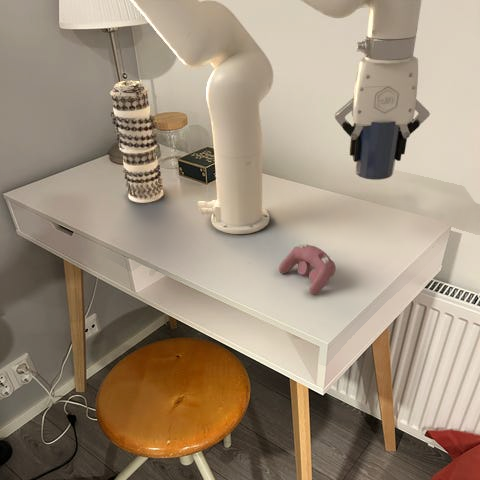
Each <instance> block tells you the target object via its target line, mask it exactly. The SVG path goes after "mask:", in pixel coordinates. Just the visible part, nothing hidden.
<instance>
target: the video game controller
mask: <svg viewBox="0 0 480 480" xmlns="http://www.w3.org/2000/svg"><path fill="white" fill-rule="evenodd" d="M296 266H297V268H296V270H297V273H298V274H299V275H303V276H307V275H308V279H309V281H310V282H311V284H310V286H309V293H310V295H313V296H314V295H317V294H318V293H320V292H321V291H322V290H323V289H324V288H325V287H326V285H327V284H328V282H329V281H330V280H331V278H333V276H334V275H335V274H336V271H337V267H336V264H335V261H334V260H333V259H331V258H330V255H328V254H327V253H326V252H325V251H324V250H322V249H321V248H319V247H317V246H315V245H310V244H307V243H302V244H300V243H299V244H298V245H296V246H294V247H293V248H292V250H291V251H290V252H289V253H288V255H287V256H285V258H284V259H283V260H282V261H281V263H280V264H279V267H278V271H279V273H280V274H281V275H282V274H287V273H288V272H289V271H292V269H294V268H295V267H296ZM311 267H314V268H313V269H312V268H311ZM311 269H312V270H311Z"/></svg>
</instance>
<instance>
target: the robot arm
mask: <svg viewBox="0 0 480 480" xmlns="http://www.w3.org/2000/svg"><path fill="white" fill-rule="evenodd" d="M130 1H131V3H132V4H133V5H134V6H135V7H136V8H137V10H138V11H139V12H140V14H142V15H143V16H144V18H145V19H146V21H147V22H148V24H150V25H151V27H152V28H153V29H154V30H155V31H156V33H157V34H158V35H159V36H160V38H161V39H162V40H163V41H164V43H166V45H167V46H168V47H169V48H170V49H171V50H172V52H173V53H174V54H175V55H176V57H177V58H178V59H179V60H180V61H181V62H182V63H183V64H184V65H186V66H188V67H190V68H197V69H198V68H202V67H205V66H207V65H209V64H210V65H211V66H212V68H213V69H214V70H213V71H212V73H211V74H210V77H209V78H208V81H207V84H206V85H207V86H206V102H207V108H208V113H209V117H210V123H211V131H212V142H213V143H212V144H213V152H214V165H215V166H214V167H215V168H214V169H215V184H216V199H212V200H211V201H206V200H205V201H202V200H199V201H197V211H201V215H207V216H208V215H211V224H212V226H213V227H214V228H215V229H216V230H217V231H220V232H222V233H226V234H231V235H247V234H252V233H256V232H258V231H261V230H263V229H264V228H265V227H267V226H268V225H269V224H270V212H269V211H268V210H267V209H265V208H264V207H263V133H262V132H263V131H262V123H261V116H260V103H261V102H262V101H263V100H264V99H265V98H266V97H267V95H268V94H269V92H270V91H271V89H272V87H273V83H274V70H273V69H274V68H273V66H272V63H271V61H270V59H269V58H268V56H267V55H266V53H265V52H264V51H263V49H262V48H261V47H260V46H259V44H258V43H257V42H256V40H255V39H254V37H253V36H252V35H251V34H250V33H249V32H248V30H247V29H246V28H245V26H244V25H243V24H242V22H241V21H240V20H239V19H238V18H237V16H236V15H235V14H234V13H233V12H232V10H230V8H228V7H227V6H225V5H224V4H223V3H221V2H219V1H216V0H202V1H200V0H130ZM301 1H302V3H305V4H306V5H307V6H309V7H311V8H312V9H314V10H315V11H316V12H318V13H321V14H322V15H324V16H327V17H329V18H333V19H344V18H347V17H349V16H351V15H352V14H354V13H355V12H356V11H358V10H359V9H365V8H369V11H368V21H367V22H368V23H367V30H366V37H365V38H364V40H362V41H357V43H356V52H359V53H360V52H361V53H363V55H364V57H361V58H360V61H359V64H358V68H357V73H356V77H355V81H354V82H355V83H354V88H353V95H352V98H351V99H349V101H348V102H347V103H345V105H343V106H342V107H341V108H339V109H338V111H336V112H335V113H334V119H335V120H336V121H337V123H338V124H339V126H340V127H341V128H342V130H343V131H344V132H345V133H346V134H347V135H348V136H349V137H350V143H349V156H352V160H353V162H354V163H356V162H357V161H358V158H359V149H360V139H359V134H360V132H361V131H362V129H363V126H370V125H371V122H396V123H395V124H396V125H400V133H399V139H398V146H397V153H396V159H395V161H397V162H400V161H401V160H402V155H405V154H406V147H407V140H408V138H410V136H411V135H412V133H414V132H415V131H416V130H417V129H419V127H420V126H421V124H423V123H424V122H425V121H426V120H427V119H428V118H429V117H430V115H431V112H430V111H429V110H428V109H427V108H426V107H425V106H424V104H422V102H420V101H419V100H418V99H417V96H418V85H419V84H418V83H419V59H418V57H416V56H414V52H415V46H416V39H417V34H418V27H419V20H420V13H421V7H422V1H423V0H300V2H301ZM415 112H417V115H416V116H415ZM350 113H351V116H352V120H353V124H351V123H350V122H349V121H348V120H347V119H346V116H348V115H349V114H350Z"/></svg>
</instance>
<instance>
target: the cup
mask: <svg viewBox="0 0 480 480" xmlns="http://www.w3.org/2000/svg"><path fill="white" fill-rule="evenodd" d="M395 123H396V122H371V125H370V126H363V129H362V131H361V132H360V134H359V139H360V149H359V158H358V161H357V162H355V174H356V175H357V176H358V177H359V178H362V179H365V180H372V181H374V180H375V181H380V180H385V179H389V178H391V177H392V176H393V175H394V171H395V165H396V153H397V146H398V139H399V133H400V125H396V124H395Z"/></svg>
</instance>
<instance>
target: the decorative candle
mask: <svg viewBox="0 0 480 480" xmlns="http://www.w3.org/2000/svg"><path fill="white" fill-rule="evenodd" d="M148 92H149V88H147V87H145V86H144V84H143V83H142V82H141V81H138V80H125V81H124V80H123V81H119V82H117V83H115V84H114V86H113V89H112V90H111V91H109V95H111V101H112V105H113V108H112V110H113V111H112V112H110V116H111V118H112V124H113V125H114V126H115V127H114V134H116V135H115V136H116V139H115V140H116V141H118V148H119V151H121V154H122V159H123V160H122V163H123V173H124V180H126V181H125V186H126V193H127V194H128V199H129V200H130V202H131V201H132V202H134V203H139V204H140V203H142V204H144V203H145V204H146V203H152V202H156V201H158V200H160V199H161V198H162V197H163V196H164V188H163V187H164V186H163V179H162V178H161V176H162V172H161V171H160V170H161V165H160V164H159V161H158V156H157V154H156V153H157V152H156V148H157V144H158V141H157V140H156V139H155V138H157V134H156V132H153V130H154V129H156V124H155V123H153V122H155V117H154V116H153V115H151V106H150V105H151V104H150V102H149V97H148Z"/></svg>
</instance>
